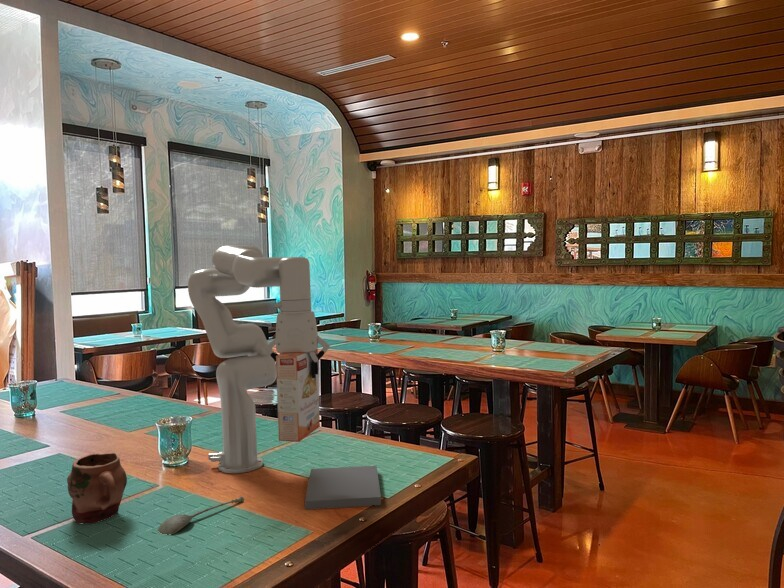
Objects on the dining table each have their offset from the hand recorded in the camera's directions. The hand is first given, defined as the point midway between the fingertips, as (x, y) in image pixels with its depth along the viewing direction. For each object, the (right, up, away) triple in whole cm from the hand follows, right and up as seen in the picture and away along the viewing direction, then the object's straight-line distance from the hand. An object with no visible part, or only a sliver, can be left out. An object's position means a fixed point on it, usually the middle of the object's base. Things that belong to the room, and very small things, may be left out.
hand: (298, 377), depth 147 cm
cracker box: (0, -14, +1) cm, 15 cm away
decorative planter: (-45, -32, -9) cm, 56 cm away
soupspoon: (-21, -32, -10) cm, 39 cm away
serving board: (+11, -29, +4) cm, 32 cm away
